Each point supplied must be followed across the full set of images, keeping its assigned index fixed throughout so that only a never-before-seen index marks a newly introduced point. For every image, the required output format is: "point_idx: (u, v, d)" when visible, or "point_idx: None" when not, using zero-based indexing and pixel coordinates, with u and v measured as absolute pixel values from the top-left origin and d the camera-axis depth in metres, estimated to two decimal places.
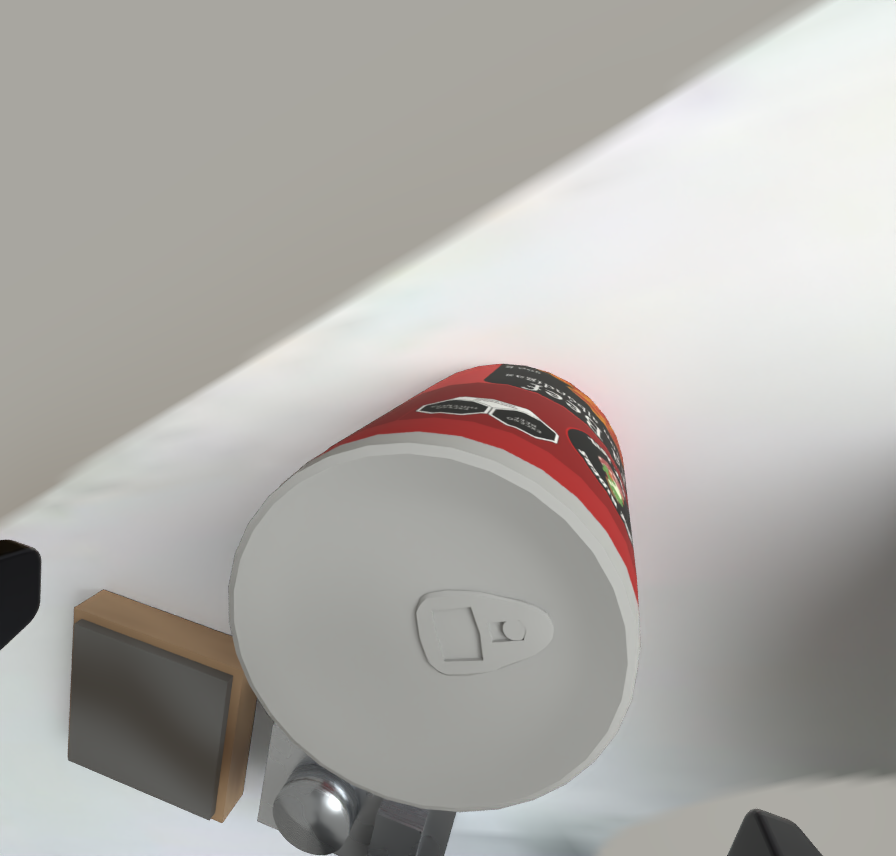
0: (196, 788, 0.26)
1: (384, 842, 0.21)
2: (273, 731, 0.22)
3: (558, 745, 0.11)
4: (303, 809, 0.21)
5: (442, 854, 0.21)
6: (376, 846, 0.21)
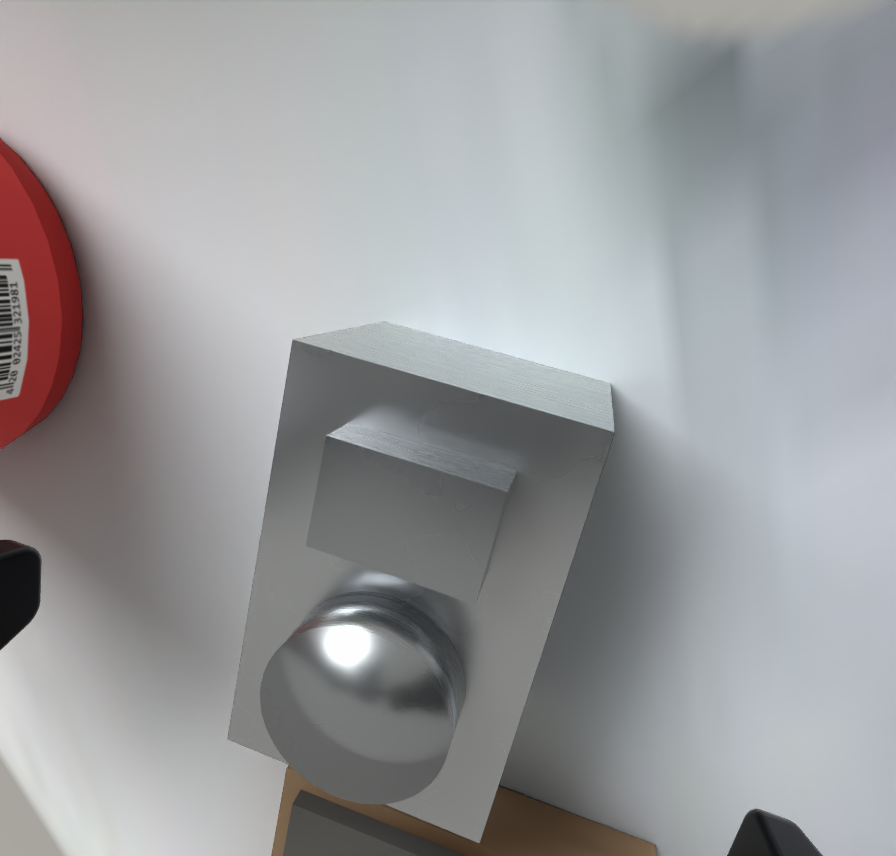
0: None
1: (385, 539, 0.08)
2: (242, 741, 0.10)
3: None
4: (322, 725, 0.09)
5: (467, 394, 0.08)
6: (404, 562, 0.08)
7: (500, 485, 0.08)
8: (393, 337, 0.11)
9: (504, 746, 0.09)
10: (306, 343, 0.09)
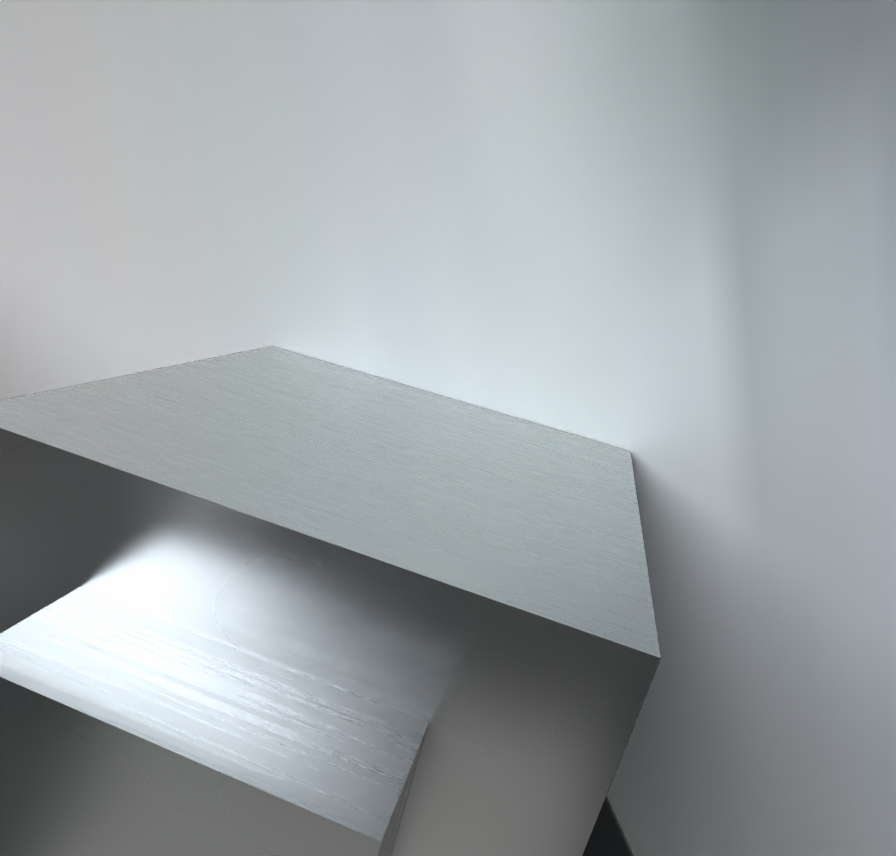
0: None
1: None
2: None
3: None
4: None
5: (313, 547, 0.03)
6: None
7: (370, 806, 0.03)
8: (248, 382, 0.06)
9: None
10: None
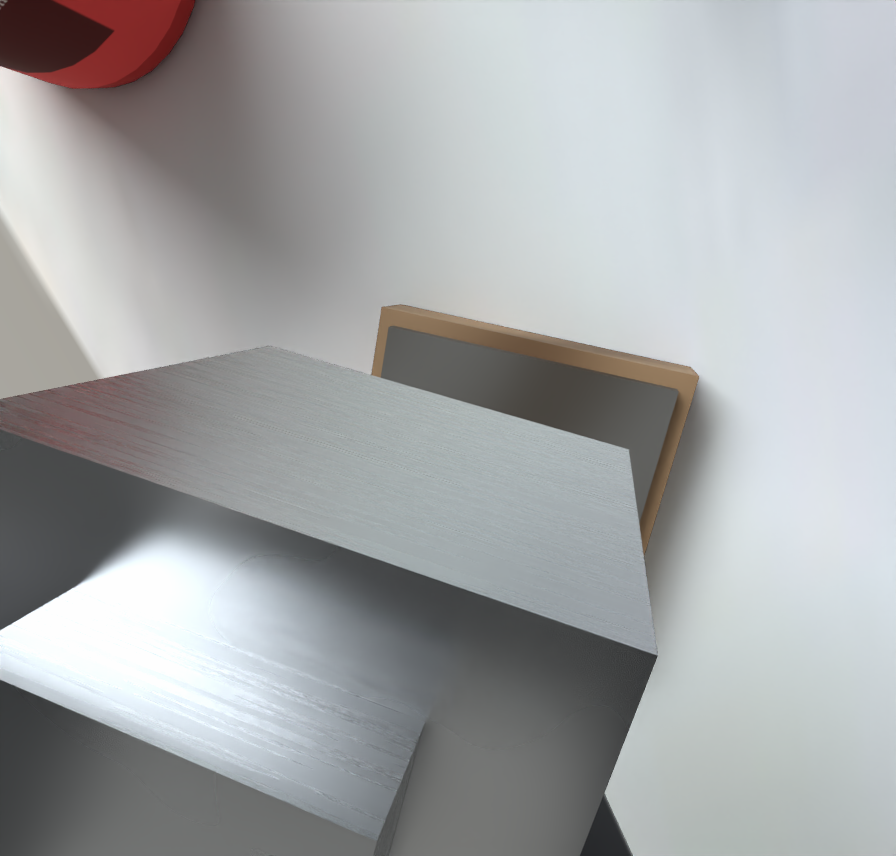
0: (609, 409, 0.15)
1: None
2: None
3: None
4: None
5: (308, 546, 0.03)
6: None
7: (366, 806, 0.03)
8: (245, 381, 0.06)
9: None
10: None
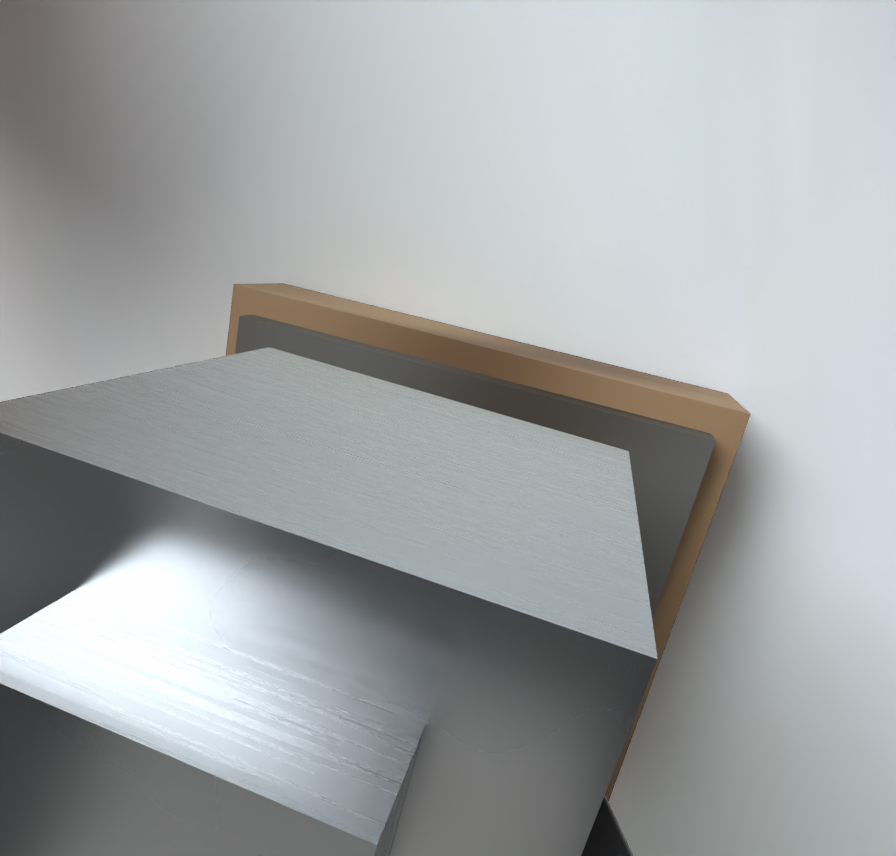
0: None
1: None
2: None
3: None
4: None
5: (308, 549, 0.03)
6: None
7: (366, 809, 0.03)
8: (245, 383, 0.06)
9: None
10: None
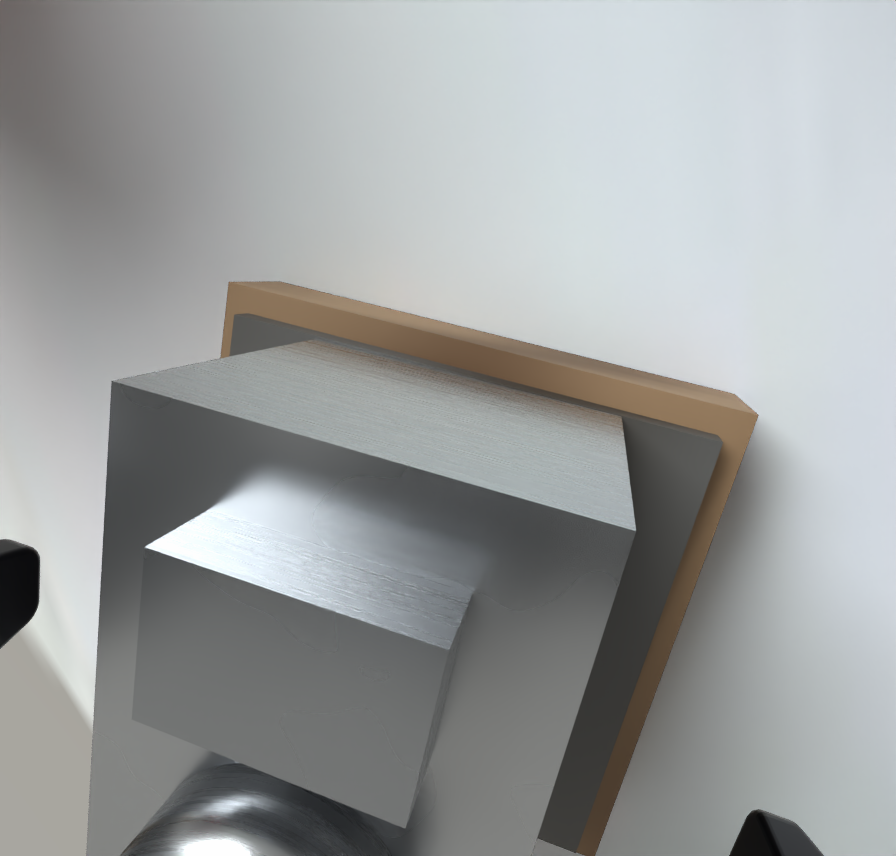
0: None
1: (254, 717, 0.05)
2: None
3: None
4: None
5: (387, 467, 0.05)
6: (285, 753, 0.05)
7: (439, 633, 0.04)
8: (308, 364, 0.07)
9: None
10: (134, 386, 0.05)
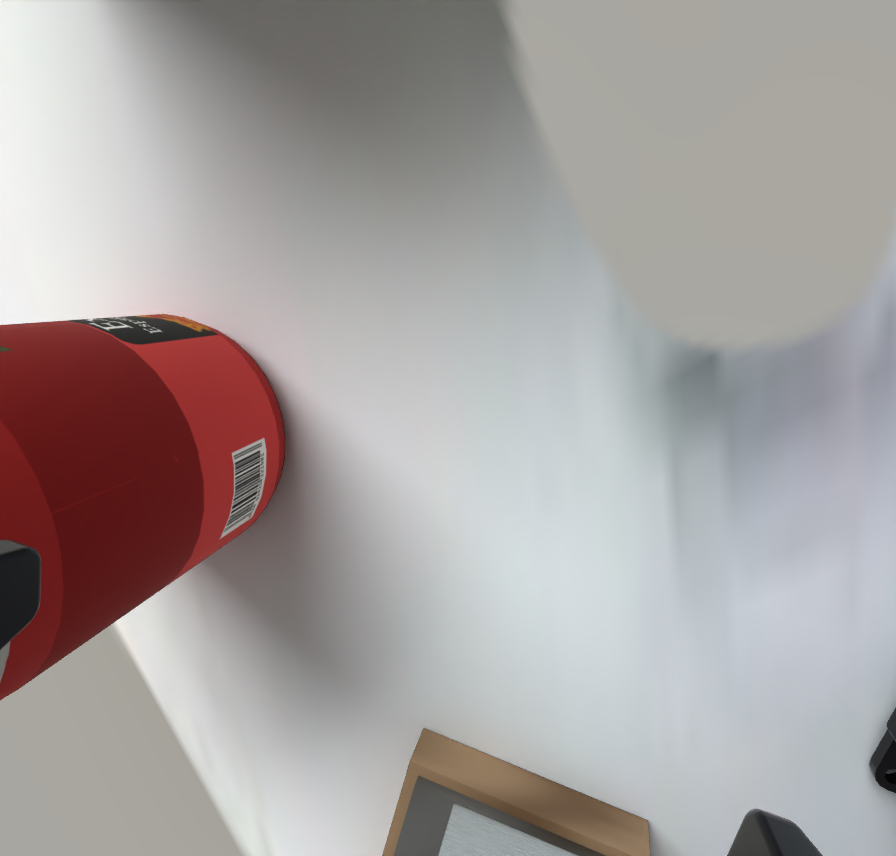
0: None
1: None
2: None
3: None
4: None
5: None
6: None
7: None
8: None
9: None
10: None
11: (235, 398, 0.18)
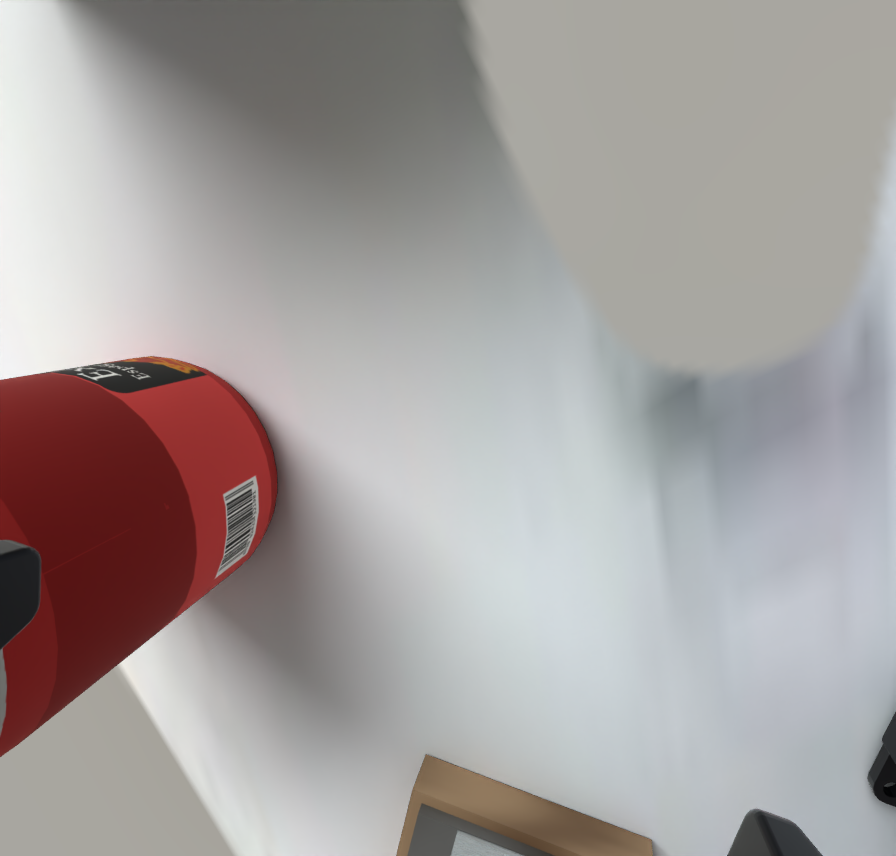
0: None
1: None
2: None
3: None
4: None
5: None
6: None
7: None
8: None
9: None
10: None
11: (225, 439, 0.18)
